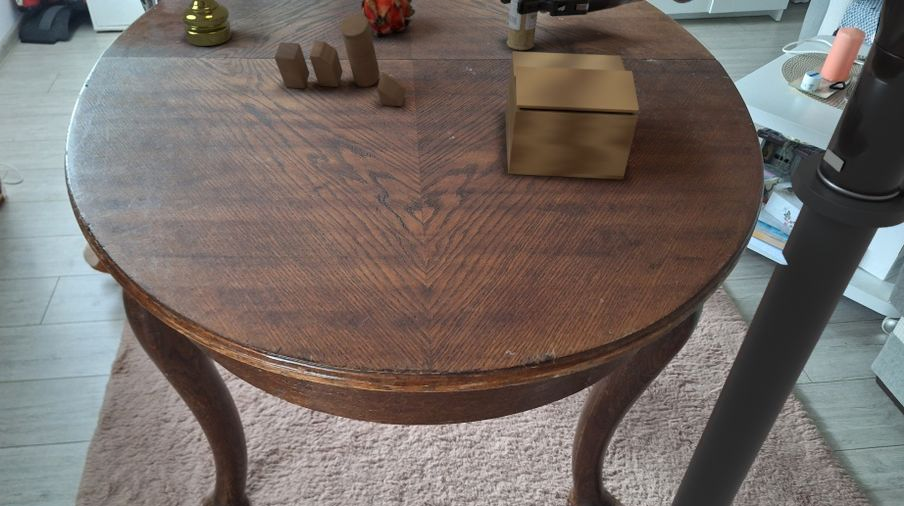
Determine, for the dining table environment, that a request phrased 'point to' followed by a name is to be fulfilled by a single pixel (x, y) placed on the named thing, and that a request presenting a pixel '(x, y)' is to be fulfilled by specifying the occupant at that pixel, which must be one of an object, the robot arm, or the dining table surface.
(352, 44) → the wooden block set
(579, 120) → the carton
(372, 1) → the dragon fruit
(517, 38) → the sprinkles bottle
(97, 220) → the dining table surface
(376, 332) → the dining table surface
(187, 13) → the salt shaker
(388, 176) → the dining table surface
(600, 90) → the flap
